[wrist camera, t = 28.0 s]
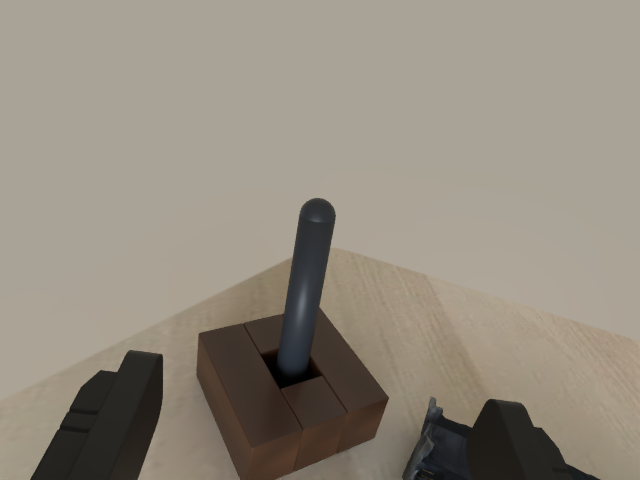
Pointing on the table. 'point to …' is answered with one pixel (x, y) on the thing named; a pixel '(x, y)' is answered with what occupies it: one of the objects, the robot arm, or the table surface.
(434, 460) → the electronic device
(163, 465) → the table surface
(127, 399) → the robot arm
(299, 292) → the dark grey peg
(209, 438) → the table surface
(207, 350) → the pen stand
